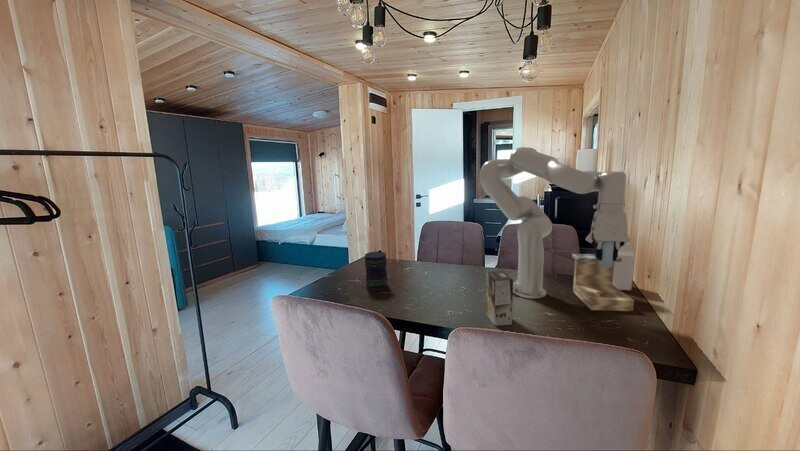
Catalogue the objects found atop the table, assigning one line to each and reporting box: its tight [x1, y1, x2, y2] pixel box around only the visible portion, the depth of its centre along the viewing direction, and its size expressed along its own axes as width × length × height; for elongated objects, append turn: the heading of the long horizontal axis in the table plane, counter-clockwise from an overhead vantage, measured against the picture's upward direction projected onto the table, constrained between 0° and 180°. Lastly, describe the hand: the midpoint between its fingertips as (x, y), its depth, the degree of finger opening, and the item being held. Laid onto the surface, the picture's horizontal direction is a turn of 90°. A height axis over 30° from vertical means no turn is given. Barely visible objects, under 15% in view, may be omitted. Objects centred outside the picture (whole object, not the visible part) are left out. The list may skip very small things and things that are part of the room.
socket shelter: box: [571, 253, 635, 312], centre depth 127 cm, size 16×18×16 cm
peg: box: [599, 241, 614, 267], centre depth 116 cm, size 4×4×10 cm
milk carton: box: [612, 243, 635, 291], centre depth 139 cm, size 7×7×19 cm
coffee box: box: [485, 270, 514, 327], centre depth 114 cm, size 9×6×16 cm
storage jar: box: [364, 251, 388, 291], centre depth 151 cm, size 10×10×15 cm
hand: (605, 259), depth 117 cm, fingers closed on peg, 4 cm apart
